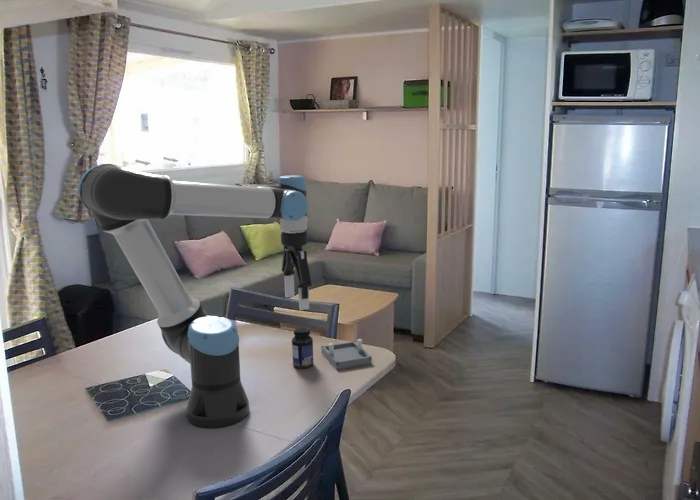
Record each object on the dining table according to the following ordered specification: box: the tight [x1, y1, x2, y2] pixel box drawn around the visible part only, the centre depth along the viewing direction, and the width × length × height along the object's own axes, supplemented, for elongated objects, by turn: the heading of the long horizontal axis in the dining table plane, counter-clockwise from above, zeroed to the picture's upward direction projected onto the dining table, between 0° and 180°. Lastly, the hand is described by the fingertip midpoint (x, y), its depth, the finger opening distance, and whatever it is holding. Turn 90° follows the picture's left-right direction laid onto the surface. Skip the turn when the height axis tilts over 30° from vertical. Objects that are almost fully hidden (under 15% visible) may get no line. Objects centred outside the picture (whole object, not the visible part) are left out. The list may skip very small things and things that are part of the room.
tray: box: [320, 338, 373, 370], centre depth 181 cm, size 14×11×5 cm
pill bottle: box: [291, 326, 314, 369], centre depth 175 cm, size 6×6×11 cm
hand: (296, 302), depth 173 cm, fingers open, 13 cm apart
